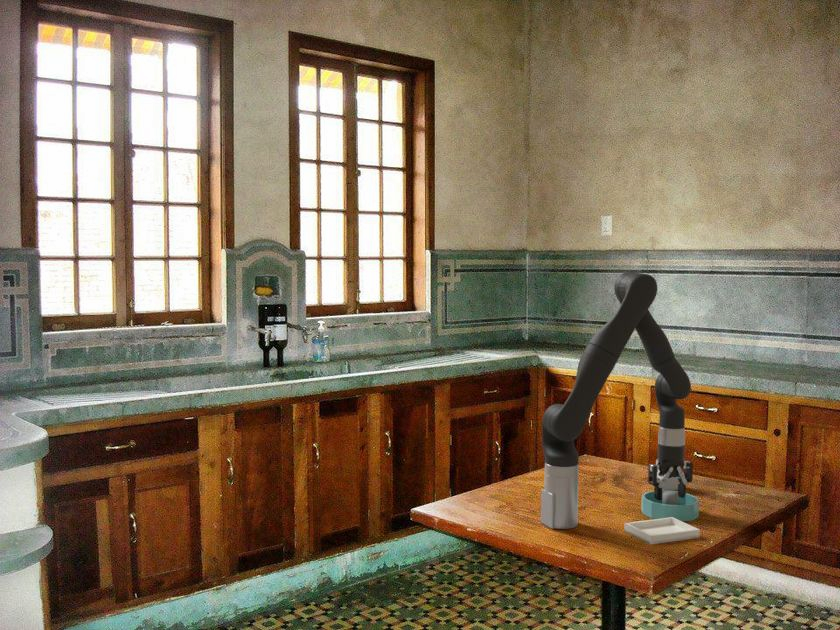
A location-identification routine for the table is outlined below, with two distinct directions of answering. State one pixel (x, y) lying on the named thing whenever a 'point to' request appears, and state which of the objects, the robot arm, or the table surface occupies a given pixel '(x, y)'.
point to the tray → (661, 530)
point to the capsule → (670, 498)
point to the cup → (669, 482)
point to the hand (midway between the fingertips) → (670, 498)
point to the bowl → (670, 507)
